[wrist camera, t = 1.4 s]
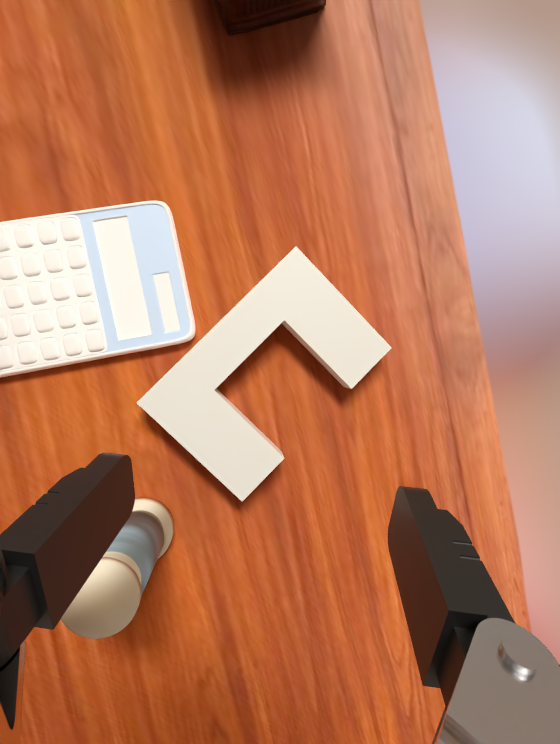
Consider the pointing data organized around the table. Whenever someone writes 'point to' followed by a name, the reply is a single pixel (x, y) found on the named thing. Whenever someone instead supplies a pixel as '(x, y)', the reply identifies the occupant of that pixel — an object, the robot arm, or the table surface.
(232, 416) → the notched board
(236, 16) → the manual coffee grinder
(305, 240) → the table surface
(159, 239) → the calculator
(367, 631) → the table surface
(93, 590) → the disc
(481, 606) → the robot arm
